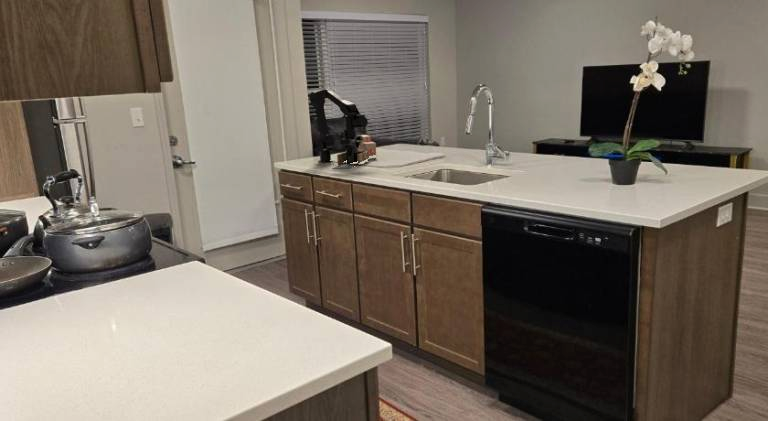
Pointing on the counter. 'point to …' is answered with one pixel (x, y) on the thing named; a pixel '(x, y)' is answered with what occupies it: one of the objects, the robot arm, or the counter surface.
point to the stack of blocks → (367, 145)
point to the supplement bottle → (353, 155)
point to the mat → (343, 167)
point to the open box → (360, 157)
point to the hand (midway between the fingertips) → (352, 155)
